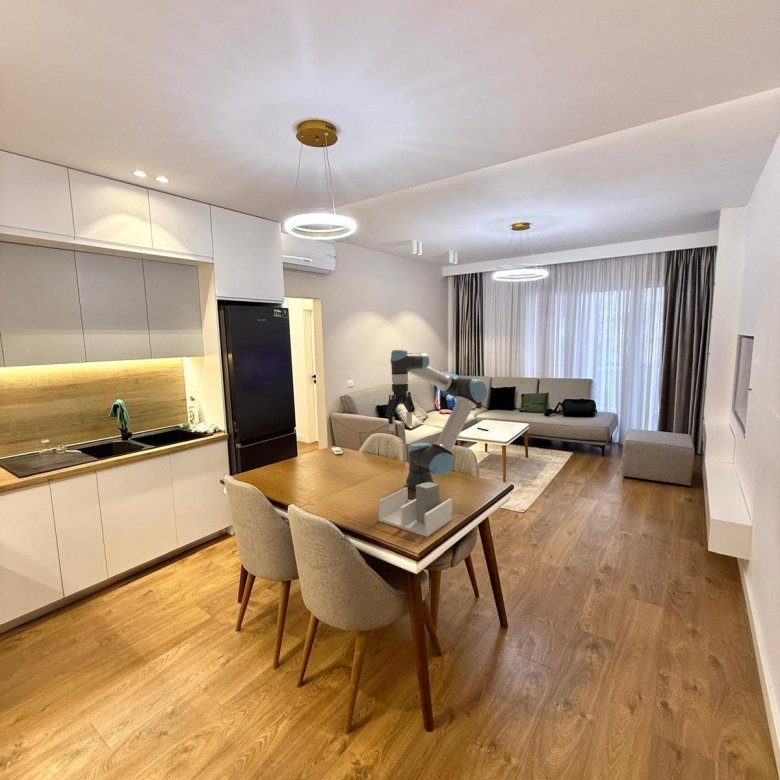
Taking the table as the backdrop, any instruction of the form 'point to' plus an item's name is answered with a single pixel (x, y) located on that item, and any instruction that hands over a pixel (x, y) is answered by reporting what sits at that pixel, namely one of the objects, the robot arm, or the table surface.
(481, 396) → the robot arm
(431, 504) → the skincare box
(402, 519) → the rack
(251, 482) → the table surface
